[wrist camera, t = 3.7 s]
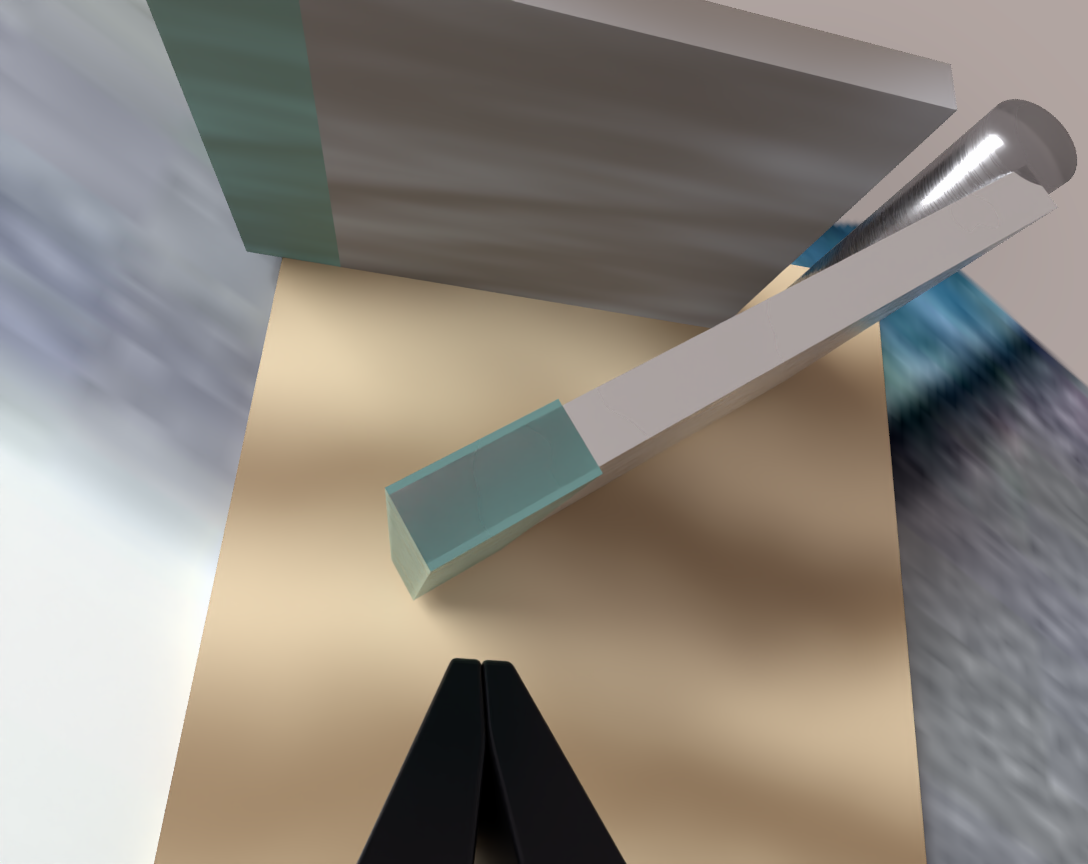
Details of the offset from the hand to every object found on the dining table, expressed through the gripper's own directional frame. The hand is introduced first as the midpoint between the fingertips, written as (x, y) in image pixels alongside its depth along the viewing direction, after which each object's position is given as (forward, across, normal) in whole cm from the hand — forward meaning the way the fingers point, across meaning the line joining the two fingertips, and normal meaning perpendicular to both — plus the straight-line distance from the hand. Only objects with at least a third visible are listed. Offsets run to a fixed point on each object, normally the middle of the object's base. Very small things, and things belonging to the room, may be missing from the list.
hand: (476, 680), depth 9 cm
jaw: (+9, -4, +1) cm, 10 cm away
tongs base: (+8, -3, +3) cm, 9 cm away
